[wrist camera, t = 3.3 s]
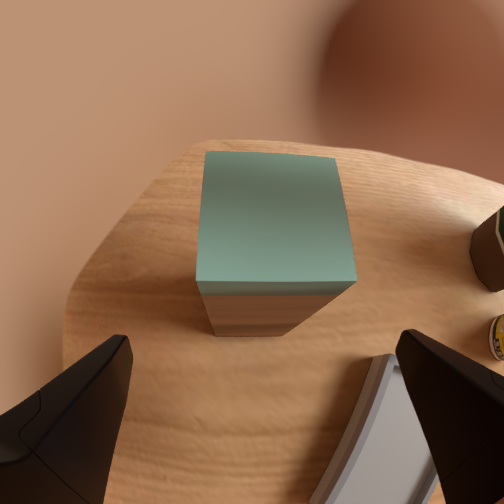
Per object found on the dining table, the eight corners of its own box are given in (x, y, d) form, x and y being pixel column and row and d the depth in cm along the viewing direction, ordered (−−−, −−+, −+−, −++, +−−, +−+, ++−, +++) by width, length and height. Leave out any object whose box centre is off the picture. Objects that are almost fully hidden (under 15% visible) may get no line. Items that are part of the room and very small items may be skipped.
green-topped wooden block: (282, 336, 19) (357, 280, 8) (215, 336, 19) (195, 280, 8) (279, 274, 21) (334, 158, 10) (216, 273, 21) (205, 151, 9)
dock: (401, 511, 14) (416, 520, 11) (308, 501, 15) (318, 514, 12) (453, 385, 18) (472, 383, 16) (373, 356, 19) (390, 353, 17)
